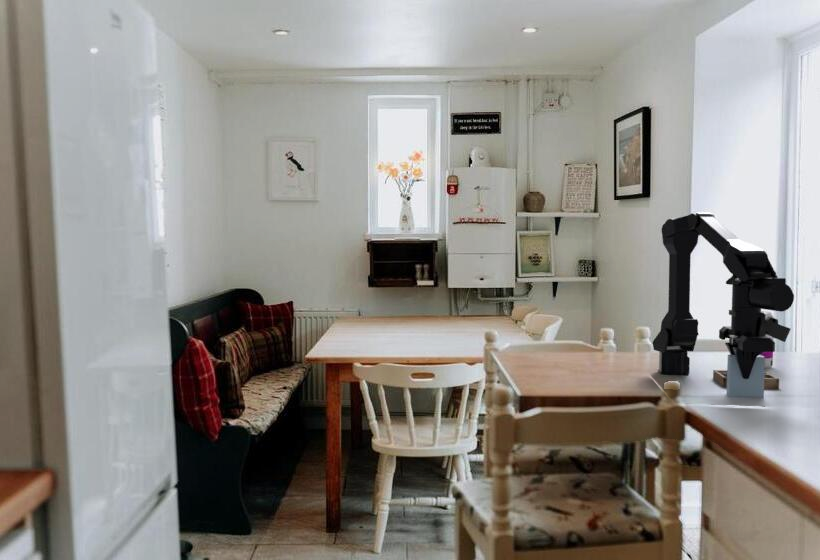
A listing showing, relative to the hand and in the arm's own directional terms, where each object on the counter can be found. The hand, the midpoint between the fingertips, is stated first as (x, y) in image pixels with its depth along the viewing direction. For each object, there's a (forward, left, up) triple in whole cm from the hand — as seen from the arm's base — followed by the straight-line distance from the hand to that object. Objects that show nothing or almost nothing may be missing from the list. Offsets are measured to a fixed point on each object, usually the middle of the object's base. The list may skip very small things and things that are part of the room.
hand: (744, 377), depth 148 cm
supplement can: (+14, +38, -5) cm, 41 cm away
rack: (+4, +12, -4) cm, 14 cm away
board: (0, 0, -4) cm, 4 cm away
